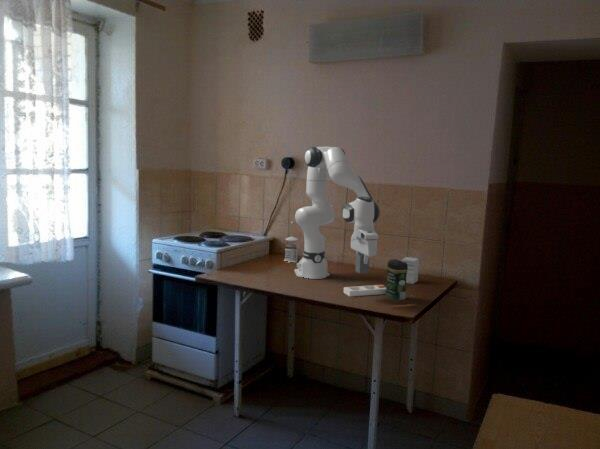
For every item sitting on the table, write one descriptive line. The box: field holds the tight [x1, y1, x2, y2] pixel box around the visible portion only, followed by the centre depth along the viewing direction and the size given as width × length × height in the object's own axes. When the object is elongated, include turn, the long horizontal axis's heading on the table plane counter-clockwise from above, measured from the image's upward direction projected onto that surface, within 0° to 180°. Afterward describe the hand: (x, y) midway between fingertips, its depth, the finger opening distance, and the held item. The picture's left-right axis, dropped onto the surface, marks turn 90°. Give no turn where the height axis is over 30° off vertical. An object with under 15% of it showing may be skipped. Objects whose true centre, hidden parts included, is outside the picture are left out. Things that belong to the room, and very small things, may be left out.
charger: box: [354, 253, 370, 274], centre depth 224 cm, size 4×4×8 cm
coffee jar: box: [385, 258, 408, 301], centre depth 229 cm, size 10×8×19 cm
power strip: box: [343, 284, 387, 297], centre depth 234 cm, size 7×20×4 cm, turn 109°
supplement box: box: [401, 256, 420, 285], centre depth 262 cm, size 7×7×13 cm
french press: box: [283, 221, 300, 263], centre depth 303 cm, size 10×12×25 cm
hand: (362, 262), depth 224 cm, fingers closed on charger, 4 cm apart
